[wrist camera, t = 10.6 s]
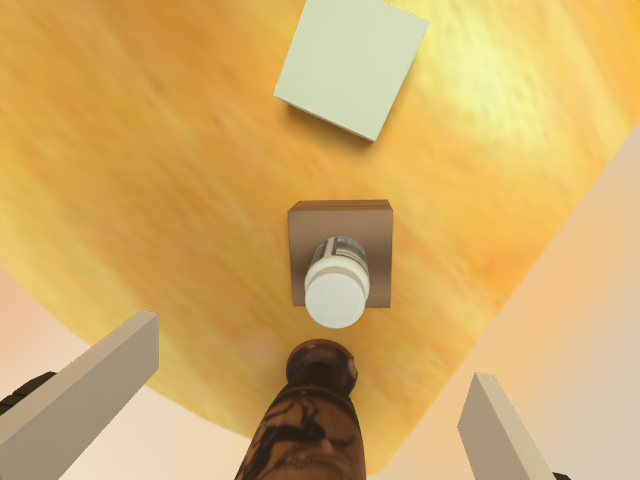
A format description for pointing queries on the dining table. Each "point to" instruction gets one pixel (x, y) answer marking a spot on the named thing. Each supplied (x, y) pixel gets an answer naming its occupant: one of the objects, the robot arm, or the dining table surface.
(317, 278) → the pill bottle
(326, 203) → the walnut block
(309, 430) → the vase
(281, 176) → the dining table surface
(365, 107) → the sage block
